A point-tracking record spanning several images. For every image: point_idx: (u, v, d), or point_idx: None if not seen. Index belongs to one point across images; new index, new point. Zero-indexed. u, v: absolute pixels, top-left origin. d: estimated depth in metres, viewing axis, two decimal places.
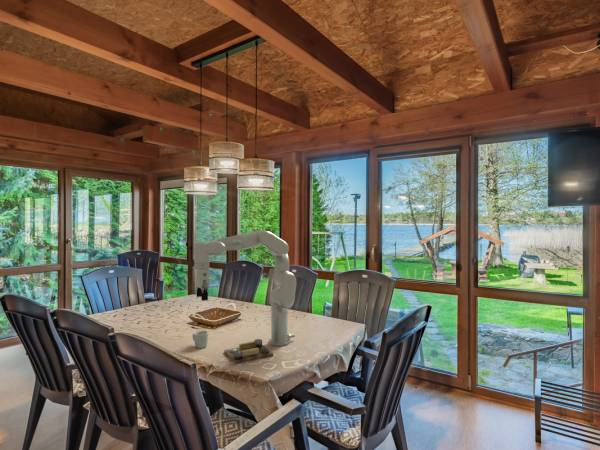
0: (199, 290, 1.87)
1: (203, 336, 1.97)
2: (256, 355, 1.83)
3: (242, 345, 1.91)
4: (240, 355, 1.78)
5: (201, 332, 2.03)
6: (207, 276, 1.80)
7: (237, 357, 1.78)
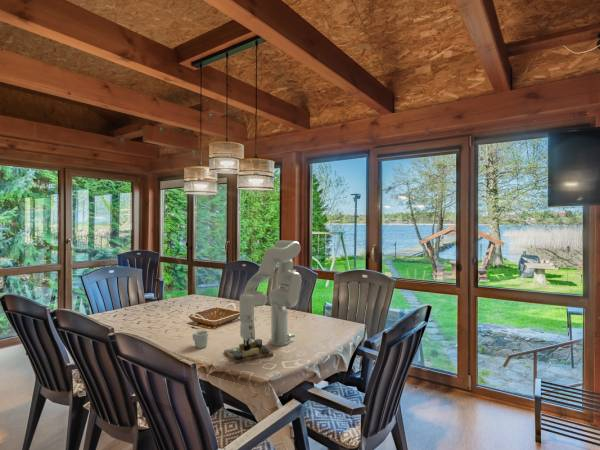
0: None
1: (203, 336, 1.97)
2: (256, 355, 1.83)
3: (242, 345, 1.91)
4: (240, 355, 1.78)
5: (201, 332, 2.03)
6: (253, 329, 1.81)
7: (237, 357, 1.78)
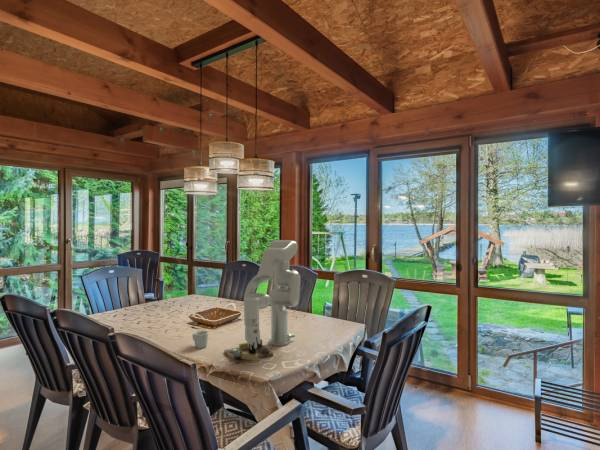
0: None
1: (203, 336, 1.97)
2: None
3: (242, 345, 1.91)
4: (236, 355, 1.78)
5: (201, 332, 2.03)
6: (258, 333, 1.77)
7: (234, 356, 1.78)
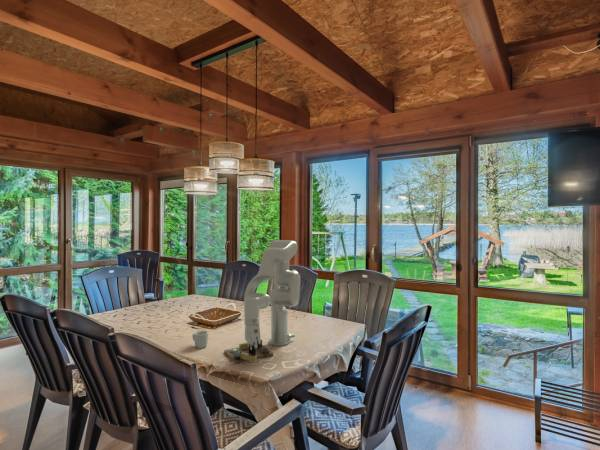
0: None
1: (203, 336, 1.97)
2: None
3: (242, 345, 1.91)
4: (236, 355, 1.78)
5: (201, 332, 2.03)
6: (258, 332, 1.76)
7: (234, 356, 1.79)
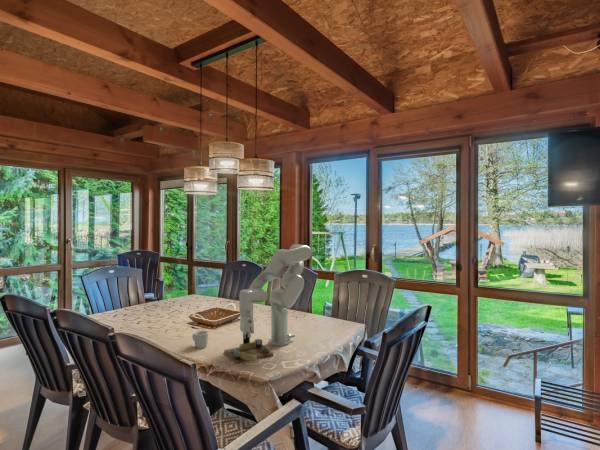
0: None
1: (203, 336, 1.97)
2: None
3: (243, 345, 1.90)
4: (236, 355, 1.78)
5: (201, 332, 2.03)
6: (252, 323, 1.91)
7: (234, 356, 1.79)
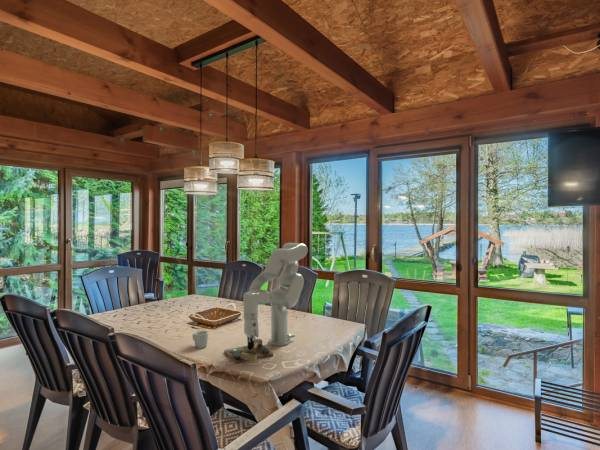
0: None
1: (203, 336, 1.97)
2: None
3: (255, 348, 1.87)
4: (236, 355, 1.78)
5: (201, 332, 2.03)
6: (256, 326, 1.86)
7: (234, 356, 1.79)
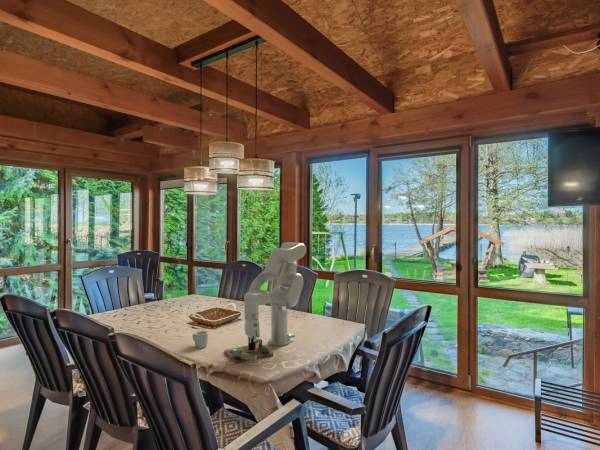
0: None
1: (203, 336, 1.97)
2: None
3: (258, 348, 1.87)
4: (236, 355, 1.78)
5: (201, 332, 2.03)
6: (257, 327, 1.85)
7: (234, 356, 1.79)
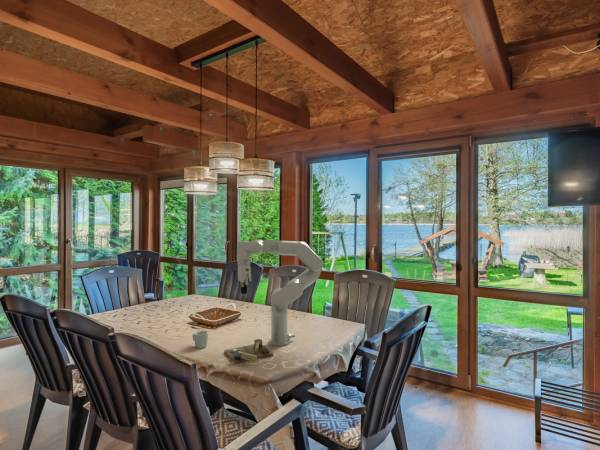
0: None
1: (203, 336, 1.97)
2: None
3: (258, 348, 1.87)
4: (236, 355, 1.78)
5: (201, 332, 2.03)
6: (249, 271, 2.02)
7: (234, 356, 1.79)
